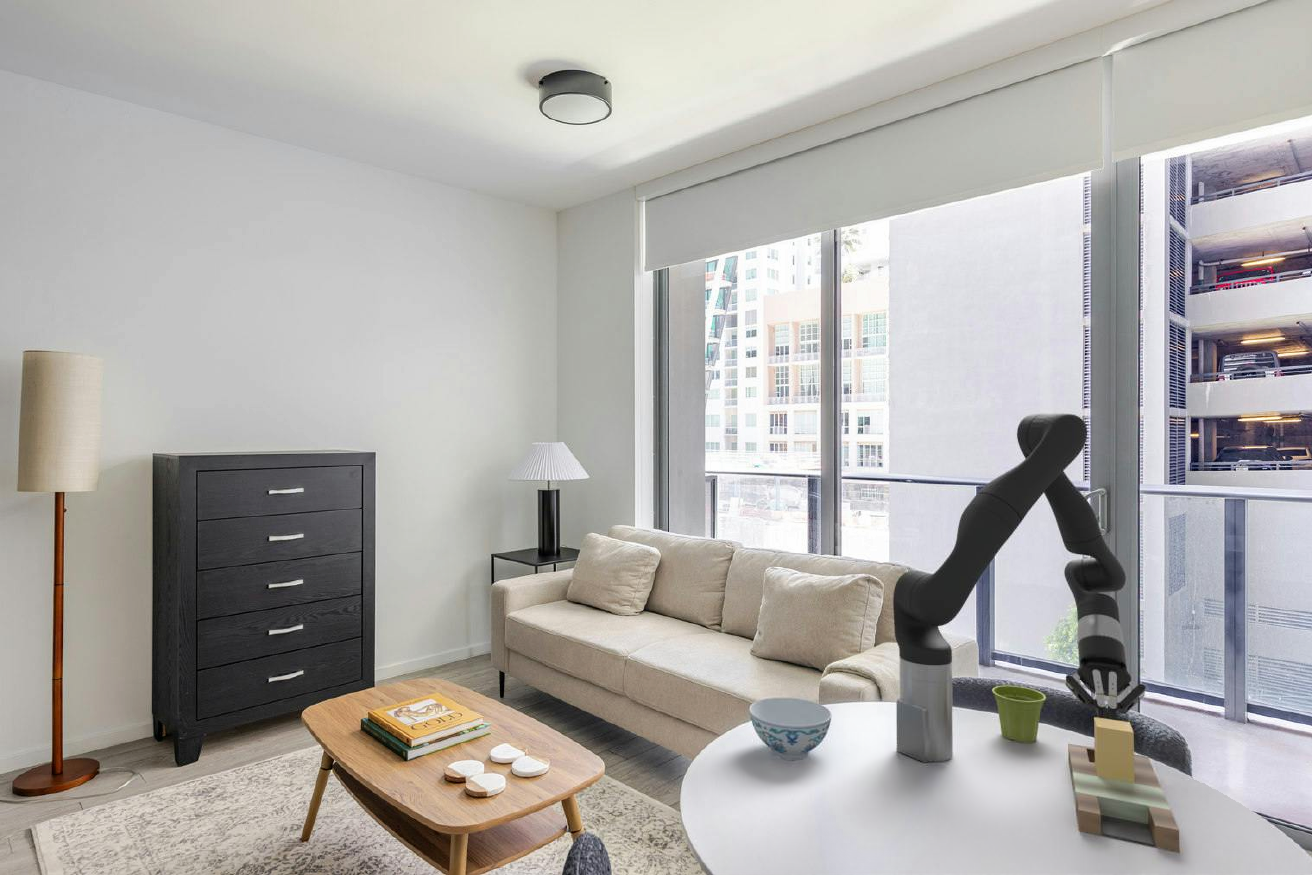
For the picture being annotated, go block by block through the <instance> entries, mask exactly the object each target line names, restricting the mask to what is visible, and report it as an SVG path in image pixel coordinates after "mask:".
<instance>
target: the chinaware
mask: <svg viewBox="0 0 1312 875" xmlns="http://www.w3.org/2000/svg"><path fill="white" fill-rule="evenodd" d="M749 717H750V720H751V723H752V726H753V729H754V731H755V733H756V734H757V736H758V737H759V739H760V740H761V741H762V742H763V744H765V745H766V746H767V747H768V748H770V750H771V753H772V754H773V755H774V757H776V758H779V759H783V760H786V761H787V760H788V761H800V759H801V760H803V759H806V758H808V757H809V753H810V752H811V751H813V750H814V749H815V748H817V747H818V746H819V745H821V743H822V742H823V740H824V739H825V737H826V735H827V734H828V730H829V728H830V727H831V726H830V725H831V722H832V712H831V711H830V709H829V708H828V707H826V706H825V705H823V704H821V703H818V702H815V701H812V700H808V699H803V698H796V697H795V698H794V697H787V696H786V697H784V696H783V697H782V696H781V697H767V698H763V699H759V700H756V701H755V702H753V703H752V704H750V706H749ZM805 757H806V758H805Z"/></svg>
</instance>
